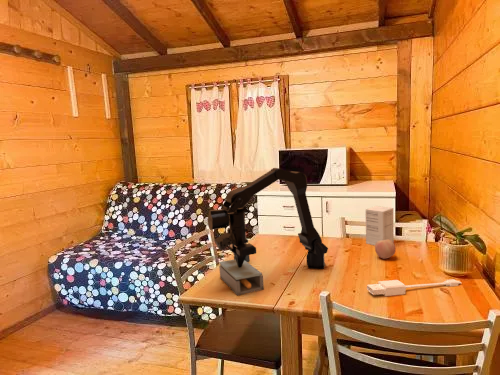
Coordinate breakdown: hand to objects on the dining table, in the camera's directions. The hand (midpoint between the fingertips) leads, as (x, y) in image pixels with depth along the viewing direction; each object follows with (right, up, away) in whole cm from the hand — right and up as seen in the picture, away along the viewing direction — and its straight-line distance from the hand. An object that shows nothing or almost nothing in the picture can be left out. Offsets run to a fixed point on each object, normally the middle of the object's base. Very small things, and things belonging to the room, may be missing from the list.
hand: (239, 267), depth 131 cm
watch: (0, -3, +24) cm, 24 cm away
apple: (+60, -1, +18) cm, 63 cm away
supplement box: (+65, +3, +38) cm, 76 cm away
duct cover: (0, -1, 0) cm, 1 cm away
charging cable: (+58, -5, -12) cm, 60 cm away
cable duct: (0, -6, +1) cm, 6 cm away
